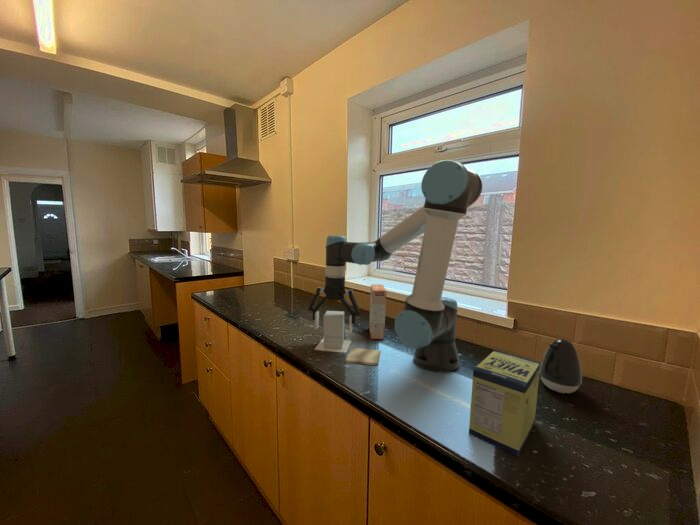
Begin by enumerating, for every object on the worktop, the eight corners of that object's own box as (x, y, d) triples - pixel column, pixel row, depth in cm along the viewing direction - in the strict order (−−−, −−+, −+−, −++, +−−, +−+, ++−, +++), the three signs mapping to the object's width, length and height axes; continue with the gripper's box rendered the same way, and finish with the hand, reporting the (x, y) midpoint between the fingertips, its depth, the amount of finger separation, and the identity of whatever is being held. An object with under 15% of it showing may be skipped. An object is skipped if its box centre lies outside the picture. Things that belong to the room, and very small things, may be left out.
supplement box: (344, 341, 120) (345, 311, 119) (342, 349, 113) (342, 316, 112) (326, 340, 121) (326, 310, 120) (322, 347, 114) (323, 315, 112)
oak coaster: (380, 352, 111) (380, 350, 111) (377, 365, 101) (378, 363, 100) (351, 349, 113) (351, 347, 113) (345, 362, 103) (345, 359, 102)
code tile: (351, 341, 122) (351, 340, 122) (345, 352, 110) (345, 352, 110) (323, 338, 124) (323, 338, 124) (314, 349, 112) (314, 349, 112)
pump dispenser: (529, 383, 91) (534, 335, 90) (553, 378, 95) (558, 331, 93) (563, 401, 82) (569, 347, 80) (588, 394, 86) (594, 343, 84)
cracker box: (384, 340, 124) (386, 290, 122) (370, 339, 124) (372, 290, 122) (382, 328, 138) (383, 284, 136) (368, 328, 138) (370, 283, 136)
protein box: (535, 423, 72) (541, 361, 71) (519, 458, 61) (526, 386, 59) (489, 405, 79) (494, 349, 77) (467, 434, 68) (472, 368, 66)
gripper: (368, 276, 115) (366, 329, 118) (307, 272, 120) (306, 323, 123) (366, 280, 108) (363, 336, 111) (300, 275, 113) (299, 329, 115)
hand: (333, 330), depth 117 cm, fingers open, 13 cm apart
